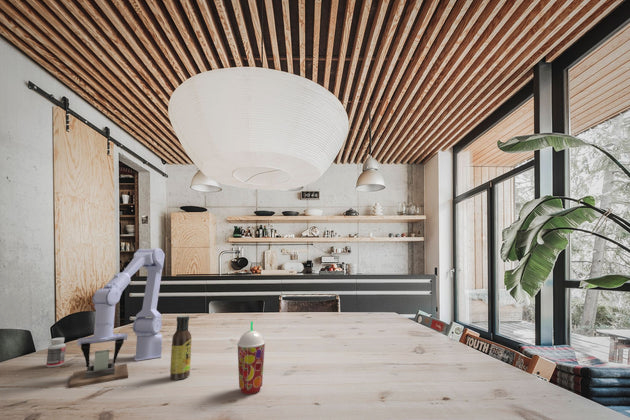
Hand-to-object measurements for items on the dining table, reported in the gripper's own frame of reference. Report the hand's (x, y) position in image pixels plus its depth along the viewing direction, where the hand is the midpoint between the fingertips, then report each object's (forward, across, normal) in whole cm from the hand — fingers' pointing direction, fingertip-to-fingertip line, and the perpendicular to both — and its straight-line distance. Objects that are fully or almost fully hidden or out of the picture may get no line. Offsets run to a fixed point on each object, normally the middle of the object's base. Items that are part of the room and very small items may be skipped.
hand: (101, 364), depth 112 cm
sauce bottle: (+4, +23, -16) cm, 28 cm away
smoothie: (+4, +39, -40) cm, 56 cm away
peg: (+3, 0, 0) cm, 3 cm away
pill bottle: (+4, -15, +24) cm, 29 cm away
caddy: (+4, 0, 0) cm, 4 cm away
